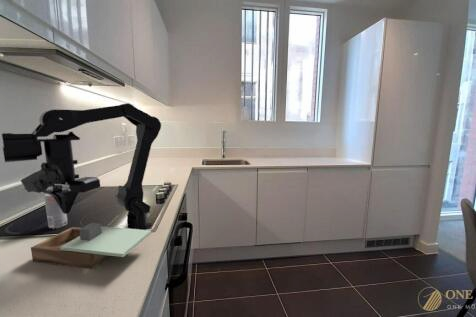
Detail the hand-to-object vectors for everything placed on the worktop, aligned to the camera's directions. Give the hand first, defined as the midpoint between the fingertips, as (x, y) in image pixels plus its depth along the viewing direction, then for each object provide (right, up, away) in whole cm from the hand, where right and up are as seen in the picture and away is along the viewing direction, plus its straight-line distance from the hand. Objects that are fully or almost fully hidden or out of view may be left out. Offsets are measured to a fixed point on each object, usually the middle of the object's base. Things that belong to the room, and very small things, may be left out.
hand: (66, 213), depth 62 cm
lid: (+12, -7, -1) cm, 15 cm away
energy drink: (-17, -9, +18) cm, 27 cm away
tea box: (+3, -11, +1) cm, 12 cm away
